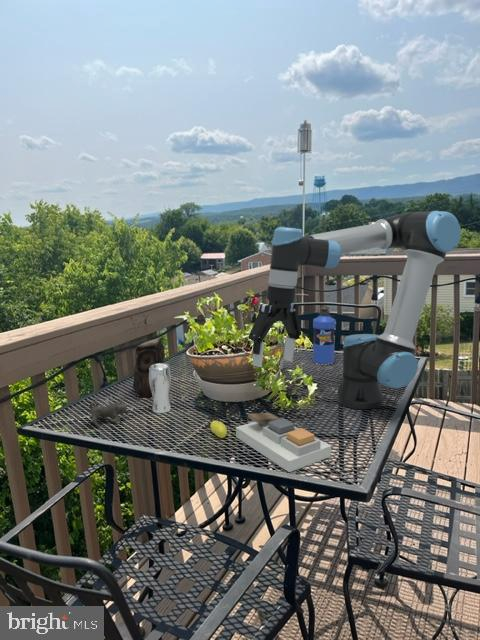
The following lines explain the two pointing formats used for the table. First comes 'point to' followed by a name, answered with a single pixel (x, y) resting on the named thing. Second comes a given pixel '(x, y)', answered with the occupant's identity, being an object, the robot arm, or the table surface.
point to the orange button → (300, 437)
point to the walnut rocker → (263, 417)
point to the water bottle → (323, 337)
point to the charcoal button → (281, 426)
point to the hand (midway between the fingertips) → (272, 363)
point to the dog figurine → (107, 412)
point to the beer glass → (160, 387)
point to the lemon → (218, 429)
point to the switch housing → (282, 446)
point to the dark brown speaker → (146, 365)
